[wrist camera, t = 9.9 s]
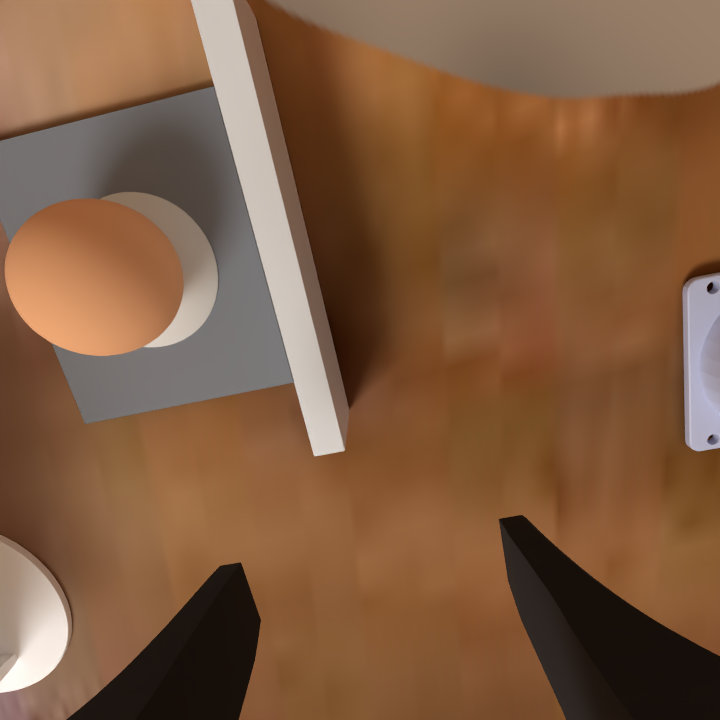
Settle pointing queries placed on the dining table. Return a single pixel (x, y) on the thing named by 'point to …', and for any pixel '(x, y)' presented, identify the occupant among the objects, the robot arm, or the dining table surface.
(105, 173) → the mat
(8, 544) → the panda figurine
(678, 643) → the robot arm
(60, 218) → the ball
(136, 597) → the dining table surface
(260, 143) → the fence
